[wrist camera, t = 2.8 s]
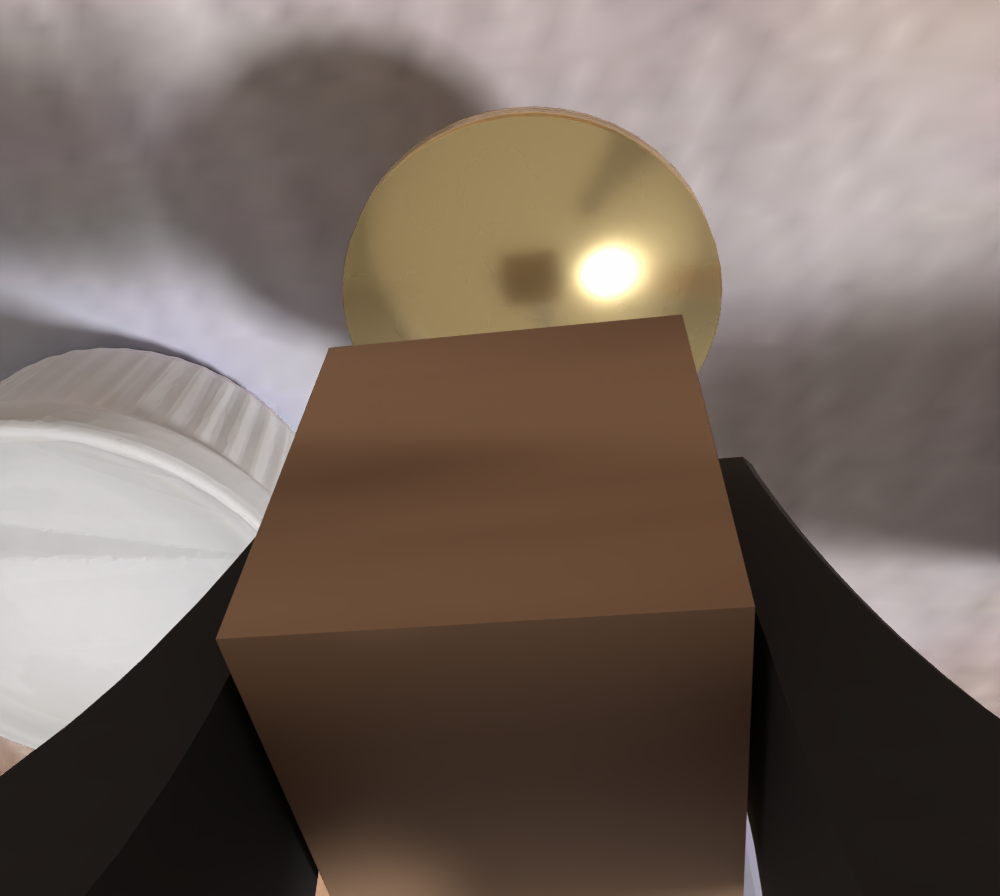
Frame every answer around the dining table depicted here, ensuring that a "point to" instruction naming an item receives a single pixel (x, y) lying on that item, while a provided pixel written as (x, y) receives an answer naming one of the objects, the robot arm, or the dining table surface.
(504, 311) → the balance
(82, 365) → the ramekin
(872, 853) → the robot arm
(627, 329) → the block
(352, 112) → the dining table surface
